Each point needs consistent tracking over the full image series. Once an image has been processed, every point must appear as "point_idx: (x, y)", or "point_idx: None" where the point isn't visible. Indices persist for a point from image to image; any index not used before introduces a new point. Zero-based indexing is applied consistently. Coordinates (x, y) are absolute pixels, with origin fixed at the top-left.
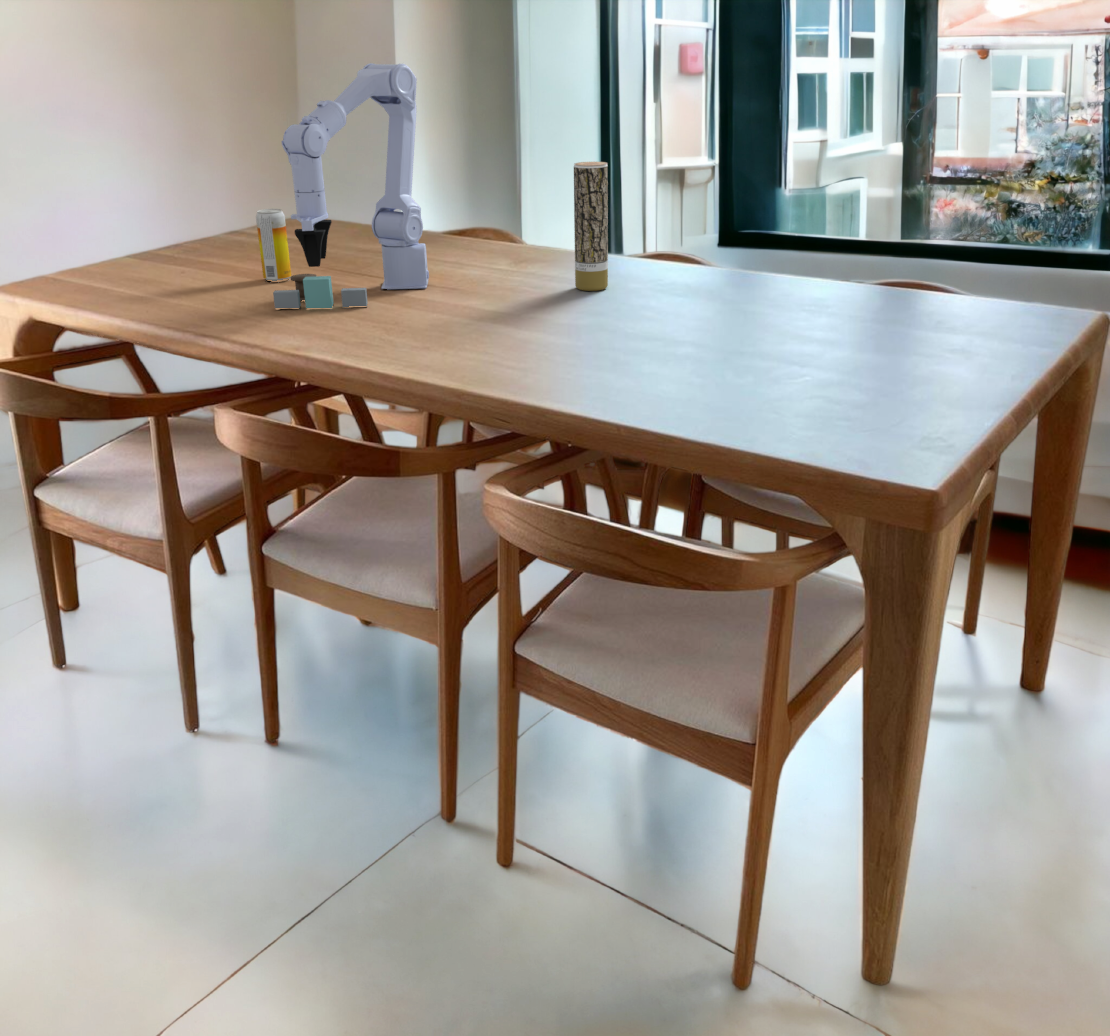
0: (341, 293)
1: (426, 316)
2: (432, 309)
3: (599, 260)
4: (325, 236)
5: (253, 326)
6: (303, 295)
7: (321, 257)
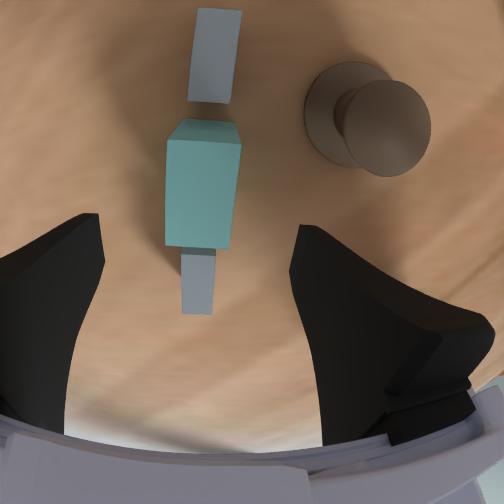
0: (182, 249)
1: (108, 364)
2: (159, 374)
3: None
4: (316, 372)
5: (22, 18)
6: (336, 109)
7: (294, 260)
